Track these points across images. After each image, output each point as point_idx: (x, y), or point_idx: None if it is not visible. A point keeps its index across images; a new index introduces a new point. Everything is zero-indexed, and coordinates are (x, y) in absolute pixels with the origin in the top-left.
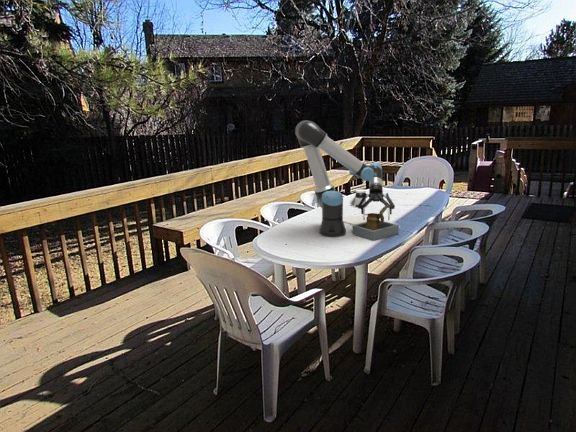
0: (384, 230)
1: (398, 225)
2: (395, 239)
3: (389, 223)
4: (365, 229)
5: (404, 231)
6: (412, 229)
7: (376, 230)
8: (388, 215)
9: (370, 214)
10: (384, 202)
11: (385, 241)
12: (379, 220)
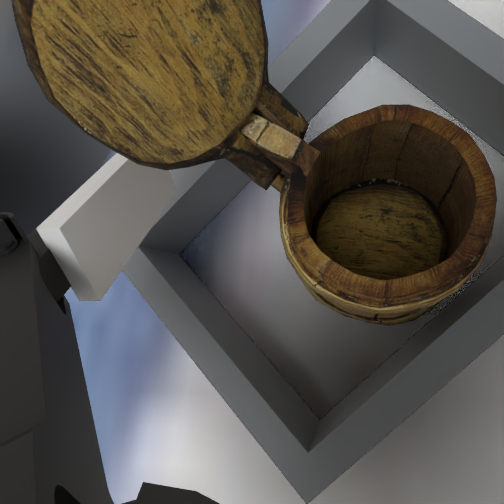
0: None
1: None
2: None
3: (178, 306)
4: (476, 22)
5: (93, 324)
6: None
7: (342, 4)
8: None
9: (430, 271)
10: (40, 345)
11: (272, 24)
12: (279, 454)
